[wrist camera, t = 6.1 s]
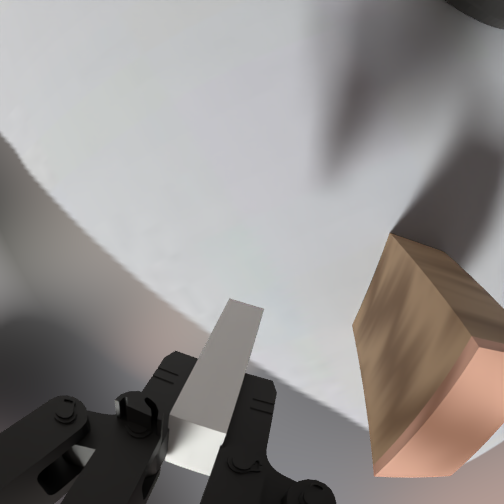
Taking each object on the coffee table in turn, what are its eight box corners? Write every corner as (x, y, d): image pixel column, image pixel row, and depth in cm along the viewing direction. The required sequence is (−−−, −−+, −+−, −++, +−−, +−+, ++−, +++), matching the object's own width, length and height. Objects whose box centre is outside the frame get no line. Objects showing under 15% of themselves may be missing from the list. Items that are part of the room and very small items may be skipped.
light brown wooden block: (389, 232, 21) (479, 347, 8) (444, 252, 20) (548, 361, 7) (352, 325, 24) (374, 476, 11) (404, 338, 23) (450, 475, 10)
